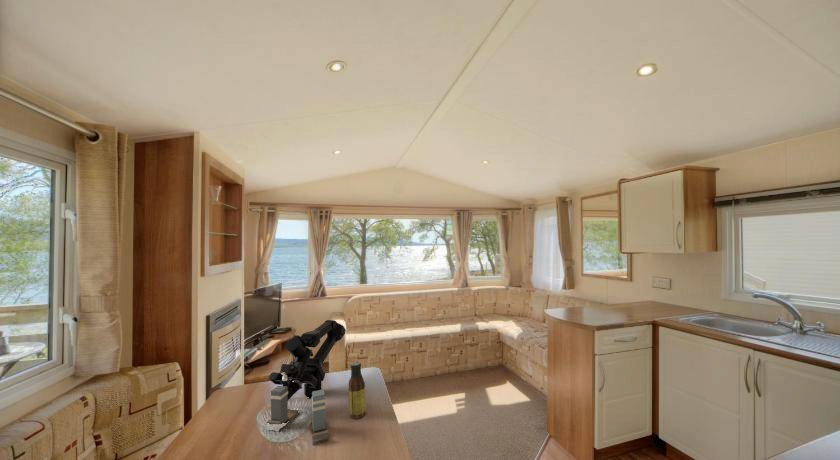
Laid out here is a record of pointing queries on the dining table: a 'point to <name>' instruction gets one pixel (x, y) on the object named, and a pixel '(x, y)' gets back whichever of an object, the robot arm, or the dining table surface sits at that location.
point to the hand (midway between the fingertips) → (283, 403)
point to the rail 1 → (290, 415)
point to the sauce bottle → (357, 392)
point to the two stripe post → (318, 410)
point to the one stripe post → (279, 404)
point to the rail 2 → (319, 435)
